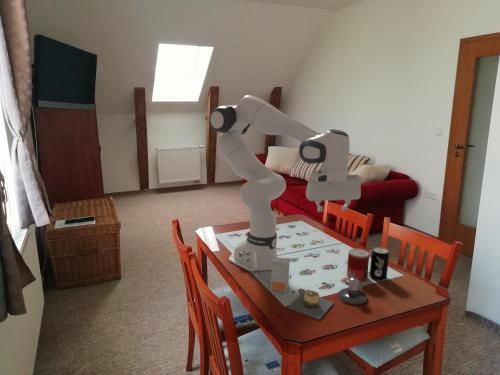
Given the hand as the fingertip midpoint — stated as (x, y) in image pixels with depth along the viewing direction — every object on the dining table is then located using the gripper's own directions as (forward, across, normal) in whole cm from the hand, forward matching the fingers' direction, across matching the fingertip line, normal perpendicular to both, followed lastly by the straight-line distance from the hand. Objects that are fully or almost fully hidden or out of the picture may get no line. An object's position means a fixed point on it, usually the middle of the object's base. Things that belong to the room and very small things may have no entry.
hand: (332, 211), depth 138 cm
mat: (+30, +11, +15) cm, 35 cm away
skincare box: (+30, +19, +2) cm, 36 cm away
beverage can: (+30, -22, -1) cm, 37 cm away
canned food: (+30, -14, -3) cm, 33 cm away
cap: (+29, +11, +15) cm, 35 cm away
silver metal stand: (+30, -6, +12) cm, 32 cm away
